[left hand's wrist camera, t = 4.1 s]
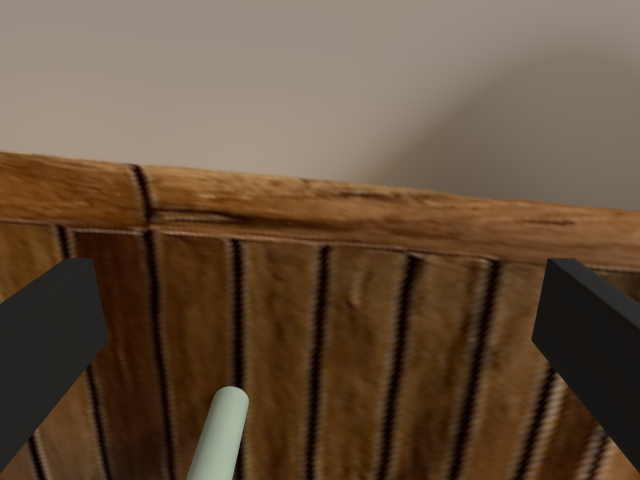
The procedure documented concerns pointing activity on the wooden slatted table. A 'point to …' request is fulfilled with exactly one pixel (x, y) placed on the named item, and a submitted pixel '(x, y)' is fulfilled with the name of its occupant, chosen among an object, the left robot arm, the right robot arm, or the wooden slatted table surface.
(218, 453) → the pale green cylinder
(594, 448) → the wooden slatted table surface
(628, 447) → the left robot arm
